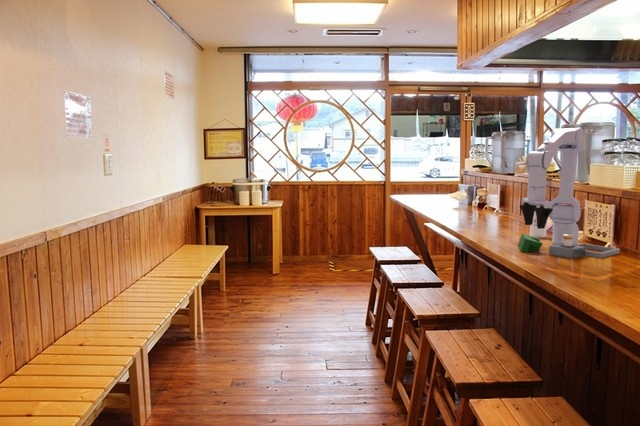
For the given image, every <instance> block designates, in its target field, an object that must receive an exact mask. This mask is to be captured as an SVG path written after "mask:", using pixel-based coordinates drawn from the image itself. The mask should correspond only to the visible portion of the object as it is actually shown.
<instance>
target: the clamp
mask: <svg viewBox="0 0 640 426" xmlns="http://www.w3.org/2000/svg"><path fill="white" fill-rule="evenodd" d="M542 247H543V242H542V241H541V239H540V237H533V236H530V234H526V233H521V234H520V238H519V241H518V244H517V248H518V249H519V252H520V253H527V254H528V252H539V253H540V249H541V248H542Z"/></svg>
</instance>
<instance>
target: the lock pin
mask: <svg viewBox="0 0 640 426" xmlns="http://www.w3.org/2000/svg"><path fill="white" fill-rule="evenodd" d="M572 245H573V235H572V234H563V244H562V247H567V248H572Z"/></svg>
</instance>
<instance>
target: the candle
mask: <svg viewBox="0 0 640 426" xmlns="http://www.w3.org/2000/svg"><path fill="white" fill-rule="evenodd" d="M538 207H540V206H538ZM529 226H530V227H529V236H533V237H536V238H546V237H547V227H548V221H547V222H546V225H545V228H544V229H538V228H537V217H536V212H534V216H533V223H532V225H529Z"/></svg>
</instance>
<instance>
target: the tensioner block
mask: <svg viewBox="0 0 640 426" xmlns="http://www.w3.org/2000/svg"><path fill="white" fill-rule="evenodd" d="M562 244H563V243H561V244H551V245H549V246H548V248H549V249H548V255H549V256H556V257H559V258H566V259H572V260H573V259H577V258H582V257H585V256H586V255H585V250H586V248H585V247H583V246H577V245H573V244H572V248H567V247H562Z"/></svg>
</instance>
